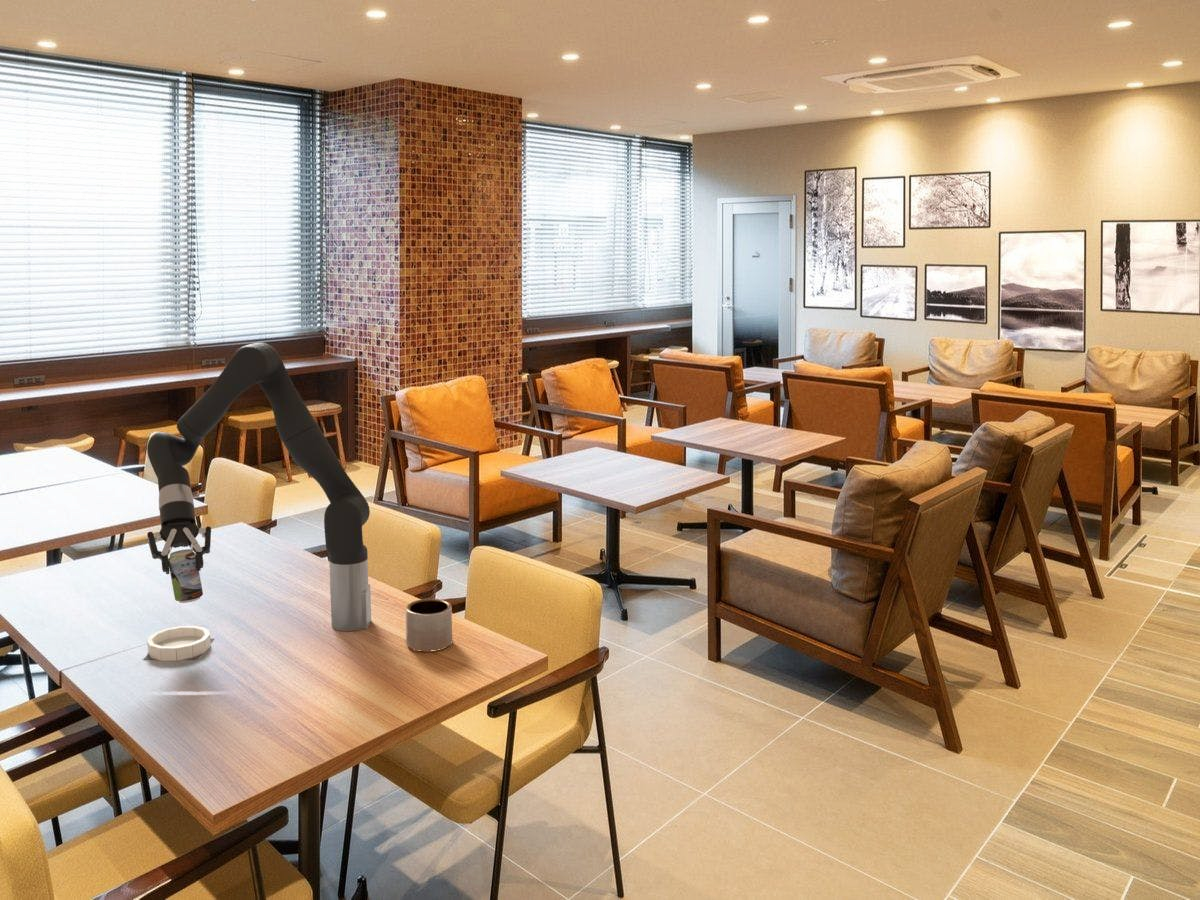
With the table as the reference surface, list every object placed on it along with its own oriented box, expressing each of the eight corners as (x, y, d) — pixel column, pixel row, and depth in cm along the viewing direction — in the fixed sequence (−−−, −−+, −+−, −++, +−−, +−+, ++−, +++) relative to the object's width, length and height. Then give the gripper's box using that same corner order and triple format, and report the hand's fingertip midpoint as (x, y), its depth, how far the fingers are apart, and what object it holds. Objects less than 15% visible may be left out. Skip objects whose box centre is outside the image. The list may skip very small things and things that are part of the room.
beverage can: (192, 607, 218) (190, 557, 216) (164, 603, 220) (161, 553, 217) (209, 597, 224) (206, 548, 222) (181, 594, 226) (178, 545, 223)
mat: (215, 640, 228) (214, 638, 228) (197, 662, 217) (196, 659, 216) (163, 640, 228) (163, 638, 228) (142, 662, 216) (142, 659, 216)
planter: (414, 656, 222) (413, 617, 220) (400, 639, 232) (400, 602, 230) (458, 648, 227) (458, 610, 225) (443, 632, 237) (443, 595, 235)
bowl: (217, 637, 229) (217, 625, 228) (198, 660, 216) (197, 648, 215) (162, 637, 228) (161, 625, 227) (139, 660, 215) (138, 648, 215)
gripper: (143, 502, 220) (148, 567, 212) (210, 496, 227) (218, 559, 219) (143, 518, 226) (149, 582, 218) (208, 512, 232) (216, 574, 225)
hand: (183, 570), depth 218 cm, fingers closed on beverage can, 6 cm apart
